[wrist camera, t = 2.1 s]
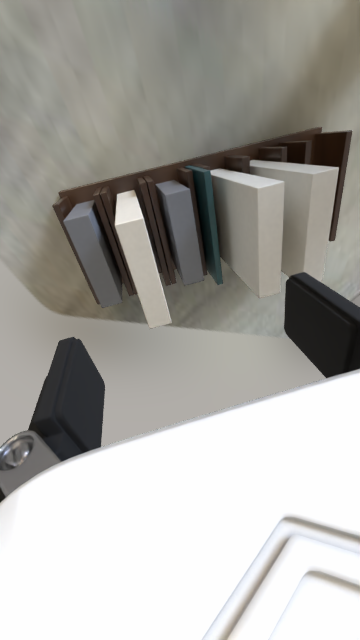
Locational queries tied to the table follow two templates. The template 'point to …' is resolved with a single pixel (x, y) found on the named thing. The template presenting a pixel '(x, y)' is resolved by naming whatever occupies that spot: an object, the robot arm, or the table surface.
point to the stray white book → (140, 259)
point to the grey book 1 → (95, 252)
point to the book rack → (201, 195)
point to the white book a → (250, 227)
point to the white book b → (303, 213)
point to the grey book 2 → (181, 230)
